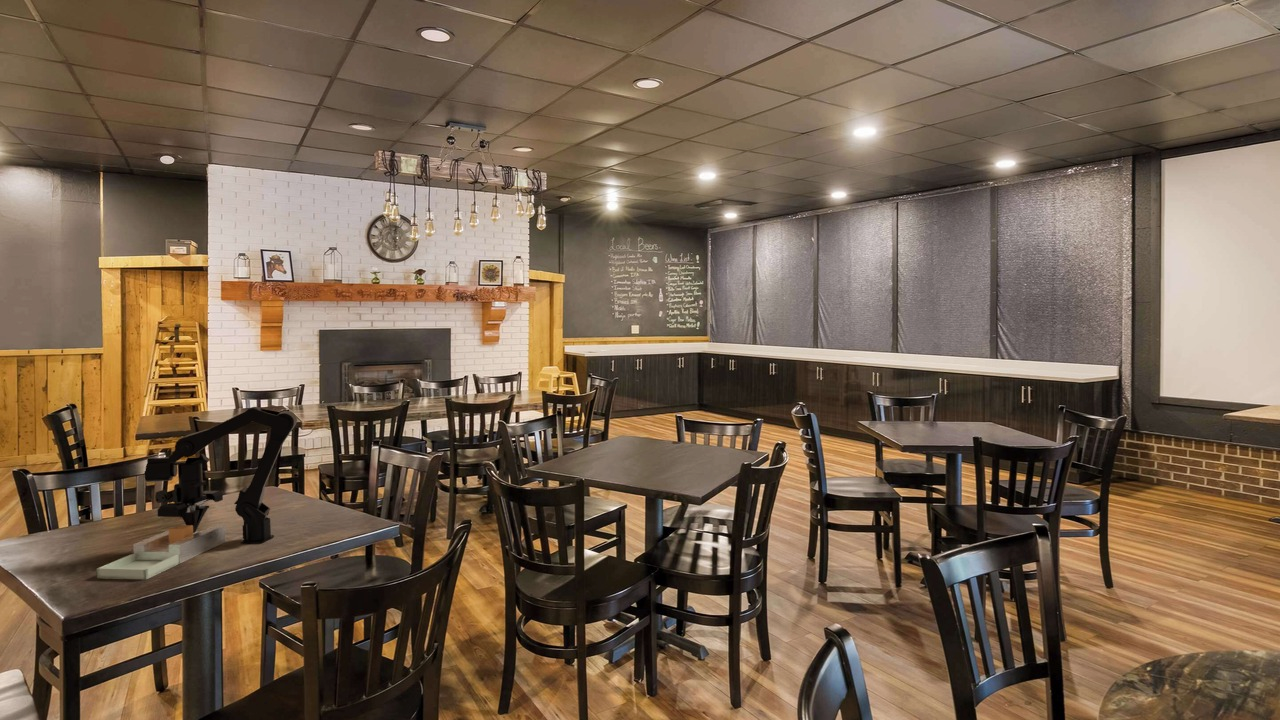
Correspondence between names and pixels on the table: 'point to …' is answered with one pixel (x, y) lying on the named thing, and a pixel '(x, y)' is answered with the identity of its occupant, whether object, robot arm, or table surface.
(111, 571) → the tray
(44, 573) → the table surface
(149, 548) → the slot rail
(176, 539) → the peach toy brick
